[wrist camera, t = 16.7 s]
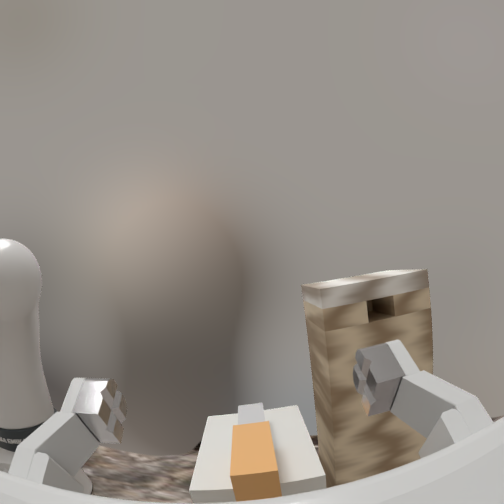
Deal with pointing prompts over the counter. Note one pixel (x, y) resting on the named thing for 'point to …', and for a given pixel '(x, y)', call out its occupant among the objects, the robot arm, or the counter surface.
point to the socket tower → (343, 360)
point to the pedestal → (286, 452)
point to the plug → (253, 456)
